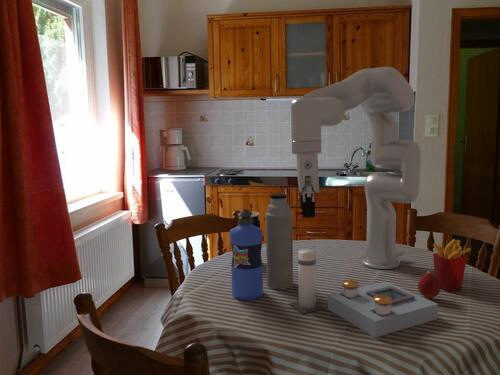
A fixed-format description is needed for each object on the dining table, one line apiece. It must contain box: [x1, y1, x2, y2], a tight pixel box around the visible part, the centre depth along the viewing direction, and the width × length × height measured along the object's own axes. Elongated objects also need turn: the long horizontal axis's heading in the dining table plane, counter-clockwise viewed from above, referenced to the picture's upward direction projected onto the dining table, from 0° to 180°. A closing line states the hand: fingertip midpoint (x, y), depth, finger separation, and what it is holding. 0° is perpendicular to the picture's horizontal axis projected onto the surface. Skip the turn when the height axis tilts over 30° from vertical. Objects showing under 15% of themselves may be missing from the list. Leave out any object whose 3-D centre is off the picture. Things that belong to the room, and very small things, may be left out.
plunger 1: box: [341, 279, 360, 300], centre depth 118 cm, size 4×4×7 cm
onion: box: [417, 270, 442, 300], centre depth 123 cm, size 6×6×8 cm
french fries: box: [432, 238, 472, 293], centre depth 130 cm, size 9×8×15 cm
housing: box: [327, 281, 439, 339], centre depth 115 cm, size 20×18×5 cm
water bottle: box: [229, 208, 264, 301], centre depth 129 cm, size 9×9×25 cm
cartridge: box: [297, 248, 317, 309], centre depth 120 cm, size 5×5×15 cm
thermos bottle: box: [265, 193, 294, 290], centre depth 136 cm, size 8×8×28 cm
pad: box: [288, 300, 326, 315], centre depth 121 cm, size 7×7×1 cm
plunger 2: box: [374, 295, 392, 317], centre depth 107 cm, size 4×4×7 cm
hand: (307, 213), depth 117 cm, fingers open, 9 cm apart
